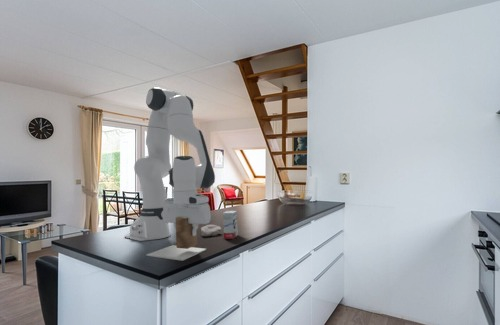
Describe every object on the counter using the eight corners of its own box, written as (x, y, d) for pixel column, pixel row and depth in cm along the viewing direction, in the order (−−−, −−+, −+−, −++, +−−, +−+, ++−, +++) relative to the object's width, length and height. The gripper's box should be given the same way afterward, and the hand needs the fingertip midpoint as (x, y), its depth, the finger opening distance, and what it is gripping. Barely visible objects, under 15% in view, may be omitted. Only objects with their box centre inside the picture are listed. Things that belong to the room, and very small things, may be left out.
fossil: (225, 228, 134) (209, 223, 127) (220, 241, 132) (205, 236, 125) (214, 224, 140) (199, 219, 133) (209, 237, 138) (194, 232, 132)
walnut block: (176, 247, 101) (175, 217, 101) (186, 243, 106) (185, 214, 107) (187, 248, 99) (186, 217, 99) (197, 244, 104) (196, 215, 105)
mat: (146, 255, 101) (146, 254, 101) (172, 246, 114) (172, 245, 114) (182, 260, 94) (182, 259, 94) (206, 249, 107) (206, 248, 107)
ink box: (233, 239, 122) (232, 212, 123) (223, 239, 123) (222, 212, 124) (238, 234, 131) (237, 210, 131) (228, 234, 132) (227, 210, 132)
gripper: (158, 199, 105) (159, 235, 104) (202, 199, 96) (203, 238, 96) (169, 197, 110) (170, 231, 110) (212, 197, 102) (213, 234, 101)
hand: (186, 235), depth 103 cm, fingers closed on walnut block, 5 cm apart
